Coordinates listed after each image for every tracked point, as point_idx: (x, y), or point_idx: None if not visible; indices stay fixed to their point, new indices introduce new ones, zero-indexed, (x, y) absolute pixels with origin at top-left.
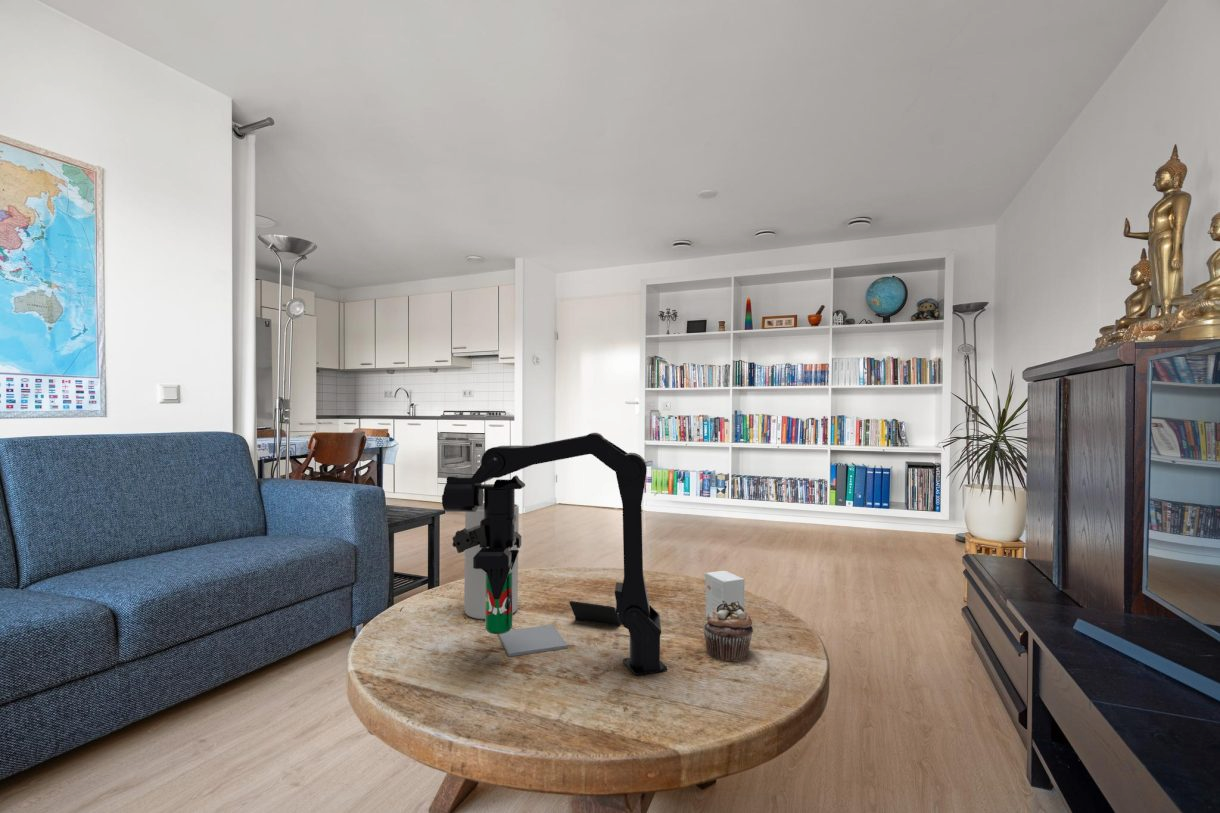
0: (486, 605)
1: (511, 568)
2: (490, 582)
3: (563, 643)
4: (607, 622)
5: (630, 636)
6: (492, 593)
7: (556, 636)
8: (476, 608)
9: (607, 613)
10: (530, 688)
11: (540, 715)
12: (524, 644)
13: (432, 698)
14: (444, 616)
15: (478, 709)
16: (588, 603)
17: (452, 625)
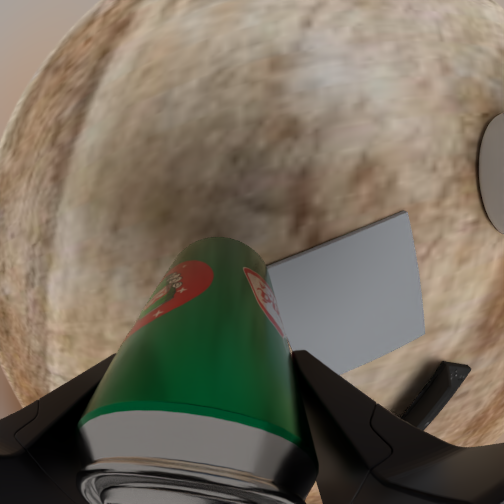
0: (162, 284)
1: (325, 502)
2: (38, 406)
3: None
4: (407, 414)
5: None
6: (92, 367)
7: (359, 358)
8: (496, 143)
9: None
10: (112, 336)
11: (47, 351)
12: (319, 300)
13: (48, 153)
14: (483, 70)
15: (31, 256)
16: (423, 423)
17: (448, 86)
